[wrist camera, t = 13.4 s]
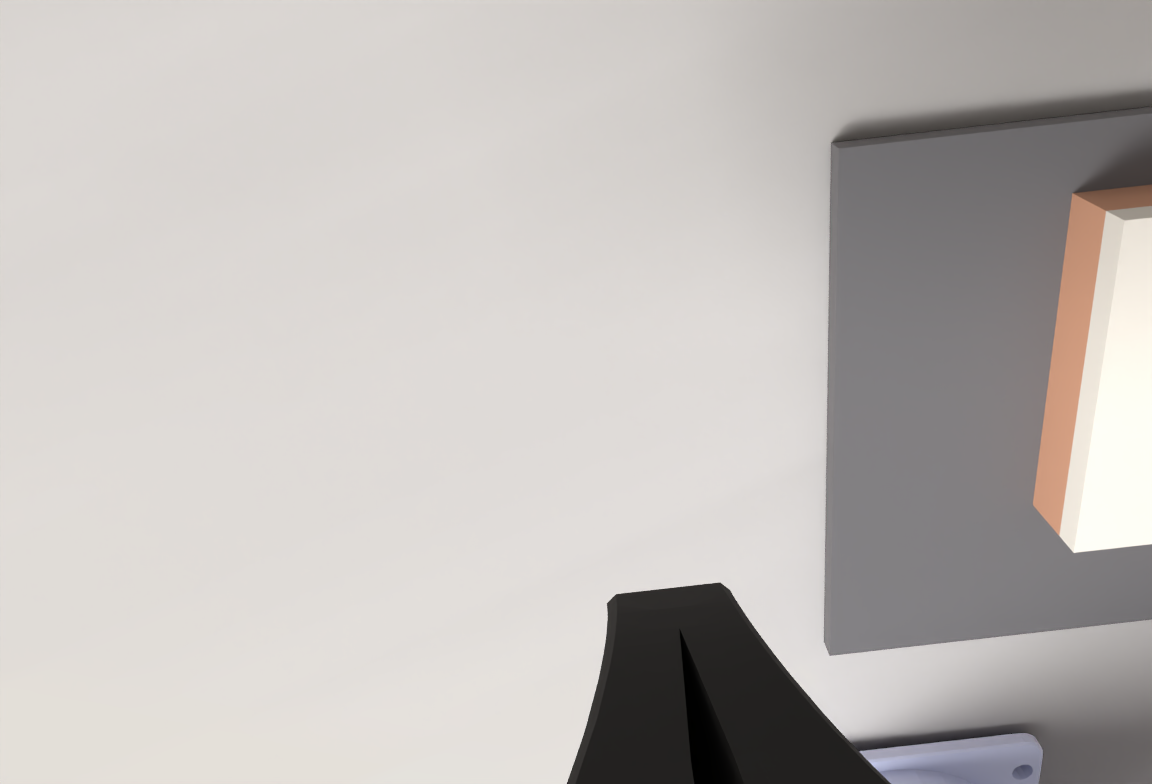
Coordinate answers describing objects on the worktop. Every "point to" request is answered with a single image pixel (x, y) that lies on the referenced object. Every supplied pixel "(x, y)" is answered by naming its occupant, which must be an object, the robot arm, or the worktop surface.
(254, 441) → the worktop surface
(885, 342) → the mat
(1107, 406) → the tile
